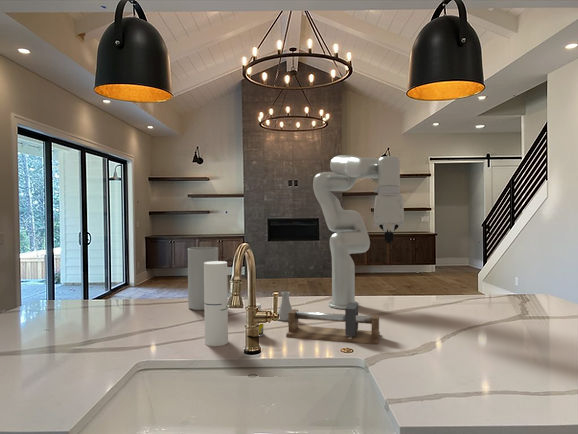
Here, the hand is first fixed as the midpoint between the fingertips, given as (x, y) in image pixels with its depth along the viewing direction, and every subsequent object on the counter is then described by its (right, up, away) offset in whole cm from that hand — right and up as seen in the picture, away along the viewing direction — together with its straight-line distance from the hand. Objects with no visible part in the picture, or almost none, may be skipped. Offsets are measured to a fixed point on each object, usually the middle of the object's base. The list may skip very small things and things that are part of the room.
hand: (388, 243), depth 148 cm
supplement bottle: (-47, -30, -11) cm, 56 cm away
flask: (-37, -29, +9) cm, 48 cm away
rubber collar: (-15, -28, -14) cm, 34 cm away
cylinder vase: (-72, -29, +29) cm, 83 cm away
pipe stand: (-21, -30, -12) cm, 38 cm away
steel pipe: (-21, -25, -12) cm, 35 cm away
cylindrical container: (-58, -30, -18) cm, 68 cm away
